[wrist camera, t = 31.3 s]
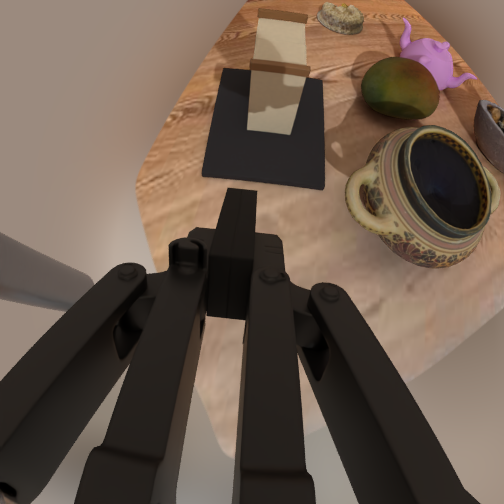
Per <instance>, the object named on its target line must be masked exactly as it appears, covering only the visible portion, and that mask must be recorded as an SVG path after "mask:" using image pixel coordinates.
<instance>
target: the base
mask: <svg viewBox="0 0 504 504" xmlns="http://www.w3.org/2000/svg"><path fill="white" fill-rule="evenodd" d="M258 17H259V21H258V27H257V33H256V39H257V38H258V39H268V40H276V41H284V42H291V43H298V44H304V45H305V24H306V23H307V19H308V15H306V14H300V13H294V12H287V11H279V10H271V9H261V8H259V9H258ZM265 18H268V19H265ZM274 19H277V20H274ZM282 20H285V21H282ZM289 21H292V22H289ZM296 22H298V23H296ZM302 23H305V24H302ZM255 44H256V40H255ZM250 83H251V70H243V69H230V68H223V72H222V77H221V81H220V85H219V90H218V94H217V99H216V103H215V108H214V113H213V117H212V122H211V127H210V132H209V137H208V142H207V147H206V152H205V157H204V163H203V168H202V177H213V178H224V179H235V180H244V181H254V182H263V183H271V184H280V185H288V186H295V187H303V188H310V189H317V190H323V189H324V187H325V142H324V105H323V82H322V80H318V79H313V78H307V77H306V80H305V83H304V87H303V91H302V94H301V98H300V102H299V105H298V109H297V112H296V116H295V120H294V123H293V127H292V130H291V134H290V135H287V134H279V133H271V132H263V131H254V130H247V124H248V110H249V96H250Z"/></svg>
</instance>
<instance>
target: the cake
mask: <svg viewBox="0 0 504 504" xmlns="http://www.w3.org/2000/svg"><path fill="white" fill-rule="evenodd" d="M343 5H344V4H342V6H339V7H337V5H336V6H335V5H334V4H332V3H328V2H326V3H324V5H323V6H322V9H321V10H320V11H319V12H318V13H317V18H318V21H320V23H322V25H324V26H325V27H327V28H328V29H330V30H333V31H335V32H338V33H341V34H348V35H353V34H357V33H359V32H361V31H362V29H363V25H362V24H363V22H364V20H363V19H364V18H363V14H362V13H361V11H359V10H358V9H357V8H356V7H354V6H352V5H350V6H349V7H347V5H346V4H345V5H344V6H343Z"/></svg>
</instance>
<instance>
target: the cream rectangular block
mask: <svg viewBox="0 0 504 504" xmlns="http://www.w3.org/2000/svg"><path fill="white" fill-rule="evenodd" d="M250 70H251V83H250V96H249V110H248V124H247V130H254V131H263V132H271V133H279V134H287V135H290V134H291V130H292V127H293V123H294V120H295V116H296V112H297V109H298V105H299V102H300V98H301V94H302V91H303V87H304V83H305V80H306V77H307V78H308V77H309V74H310V66H306V45H304V44H298V43H291V42H284V41H276V40H268V39H258V38H257V39H256V44H255V50H254V57H253V59H251V60H250Z"/></svg>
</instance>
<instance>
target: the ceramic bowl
mask: <svg viewBox="0 0 504 504" xmlns="http://www.w3.org/2000/svg"><path fill="white" fill-rule="evenodd" d="M362 184H363V195H364V201H365V206H366V209H365V208H364V207H363V205H362V203H361V200H360V196H359V188H360V186H361V185H362ZM490 188H491V190H490ZM499 200H500V189H499V186H498V183H497V181H496V179H495V177H494V176H493V175H492V174H491V172H490V171H488V170H487V169H486V168H485V167H484V166H482V164H481V162H480V160H479V159H478V157H477V156H476V154H475V152H474V151H473V150H472V148H471V147H470V146H469V145H468V144H467V143H466V142H465V141H464V140H463V139H462V138H461V137H459V136H458V135H457V134H455V133H454V132H452V131H450V130H447V129H445V128H443V127H440V126H435V125H428V126H423V127H420V128H416V127H408V128H401V129H398V130H395V131H393V132H391V133H389V134H387V135H386V136H385V137H383V138H382V139H381V140H380V141H379V142H378V143H377V144H376V145H375V146H374V148H373V149H372V151H371V153H370V155H369V157H368V159H367V162H366V166H365V167H363V168H361V169H360V170H357V171H355V172H354V173H353V174H352V175H351V177H350V178H349V179H348V182H347V184H346V188H345V201H346V204H347V207H348V210H349V212H350V214H351V215H352V217H353V218H354V219H355V221H357V222H358V223H359V224H360V225H361V226H362V227H363V228H365V229H366V230H368V231H369V232H372V233H375V234H378V235H379V236H380V238H381V239H382V240H383V242H384V243H385V244H386V245H387V246H388V247H389V248H390V249H391V250H392V251H393V252H394V253H396V254H397V255H399V256H400V257H402V258H403V259H405V260H406V261H408V262H411V263H413V264H416V265H418V266H422V267H427V268H445V267H450V266H452V265H455V264H457V263H459V262H461V261H463V260H464V259H466V258H467V257H468V256H469V255H470V254H471V253H472V252H473V251H474V250H475V248H476V247H477V245H478V243H479V241H480V240H481V237H482V234H483V232H484V228H485V225H486V224H487V222H488V220H489V217H490V215H491V214H492V213H493V212H494V211H495V210H496V209H497V207H498V204H499Z"/></svg>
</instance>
